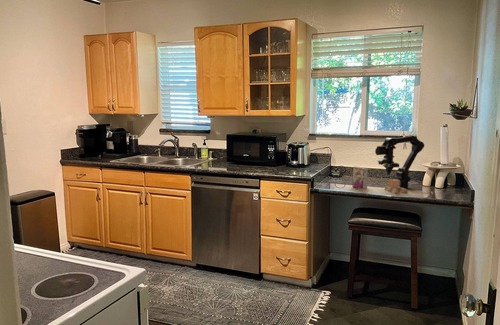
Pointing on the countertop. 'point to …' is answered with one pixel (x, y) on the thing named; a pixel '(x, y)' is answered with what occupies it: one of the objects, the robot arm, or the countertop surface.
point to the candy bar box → (360, 177)
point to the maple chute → (396, 190)
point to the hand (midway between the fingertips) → (388, 174)
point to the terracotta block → (394, 184)
